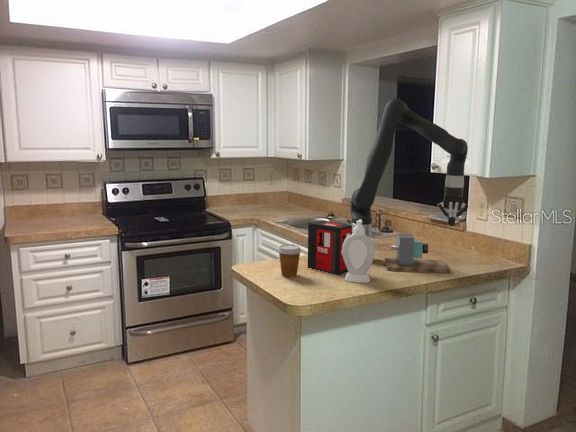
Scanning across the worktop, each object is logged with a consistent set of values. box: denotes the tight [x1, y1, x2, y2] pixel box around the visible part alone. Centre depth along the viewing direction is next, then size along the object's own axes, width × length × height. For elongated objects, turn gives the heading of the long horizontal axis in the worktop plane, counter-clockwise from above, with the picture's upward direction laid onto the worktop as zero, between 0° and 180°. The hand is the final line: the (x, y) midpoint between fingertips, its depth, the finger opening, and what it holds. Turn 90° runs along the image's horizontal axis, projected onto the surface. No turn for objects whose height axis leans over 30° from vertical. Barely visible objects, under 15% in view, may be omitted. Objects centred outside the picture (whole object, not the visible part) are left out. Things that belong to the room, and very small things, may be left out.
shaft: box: [390, 242, 429, 255], centre depth 212 cm, size 16×4×4 cm, turn 83°
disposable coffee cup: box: [277, 244, 302, 278], centre depth 197 cm, size 10×10×12 cm
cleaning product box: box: [307, 220, 352, 276], centre depth 206 cm, size 16×9×20 cm, turn 50°
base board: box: [384, 257, 451, 274], centre depth 212 cm, size 26×16×2 cm, turn 83°
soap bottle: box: [342, 219, 376, 284], centre depth 190 cm, size 13×8×24 cm, turn 74°
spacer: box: [413, 240, 424, 259], centre depth 211 cm, size 4×6×7 cm
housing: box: [396, 232, 415, 266], centre depth 212 cm, size 6×10×12 cm, turn 173°
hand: (451, 225), depth 207 cm, fingers closed
